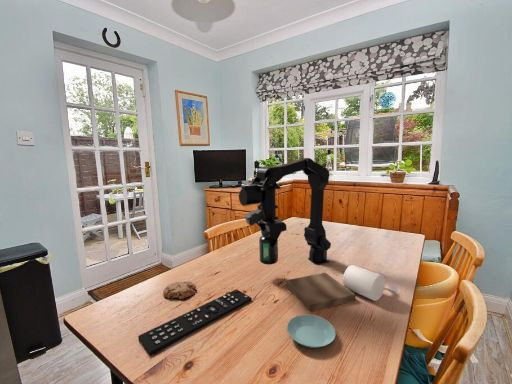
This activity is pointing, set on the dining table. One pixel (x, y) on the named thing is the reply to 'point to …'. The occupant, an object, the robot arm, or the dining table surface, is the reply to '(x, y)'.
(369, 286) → the mug
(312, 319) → the saucer
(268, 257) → the supplement bottle
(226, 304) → the remote control
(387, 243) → the dining table surface
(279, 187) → the robot arm
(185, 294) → the cookie
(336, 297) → the walnut board
